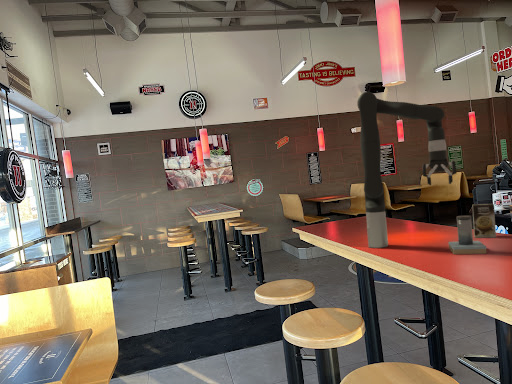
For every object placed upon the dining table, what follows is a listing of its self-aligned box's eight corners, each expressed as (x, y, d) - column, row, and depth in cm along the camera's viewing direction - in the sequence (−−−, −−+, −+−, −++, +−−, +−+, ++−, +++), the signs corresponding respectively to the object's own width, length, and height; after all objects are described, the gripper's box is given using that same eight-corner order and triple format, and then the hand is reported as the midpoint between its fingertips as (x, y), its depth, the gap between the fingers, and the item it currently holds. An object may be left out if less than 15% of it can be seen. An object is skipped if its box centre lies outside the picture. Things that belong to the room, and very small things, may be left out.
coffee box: (474, 237, 185) (472, 205, 185) (474, 235, 191) (471, 204, 190) (496, 237, 181) (494, 204, 181) (495, 235, 187) (492, 203, 186)
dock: (453, 254, 156) (453, 247, 156) (448, 248, 168) (448, 241, 168) (486, 253, 153) (486, 246, 153) (479, 247, 164) (478, 240, 164)
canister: (459, 245, 159) (457, 217, 158) (457, 242, 164) (455, 216, 164) (474, 244, 157) (472, 217, 156) (471, 242, 162) (469, 215, 162)
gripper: (421, 151, 176) (424, 186, 177) (455, 148, 172) (458, 183, 172) (420, 152, 184) (422, 185, 184) (452, 148, 179) (455, 182, 180)
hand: (440, 184), depth 178 cm, fingers open, 8 cm apart
